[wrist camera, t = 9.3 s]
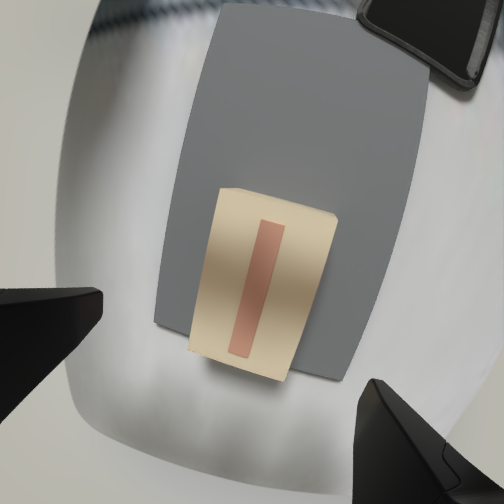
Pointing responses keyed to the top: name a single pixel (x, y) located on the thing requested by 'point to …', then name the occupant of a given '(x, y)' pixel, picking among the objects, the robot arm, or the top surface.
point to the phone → (438, 33)
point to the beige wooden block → (259, 280)
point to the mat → (300, 158)
